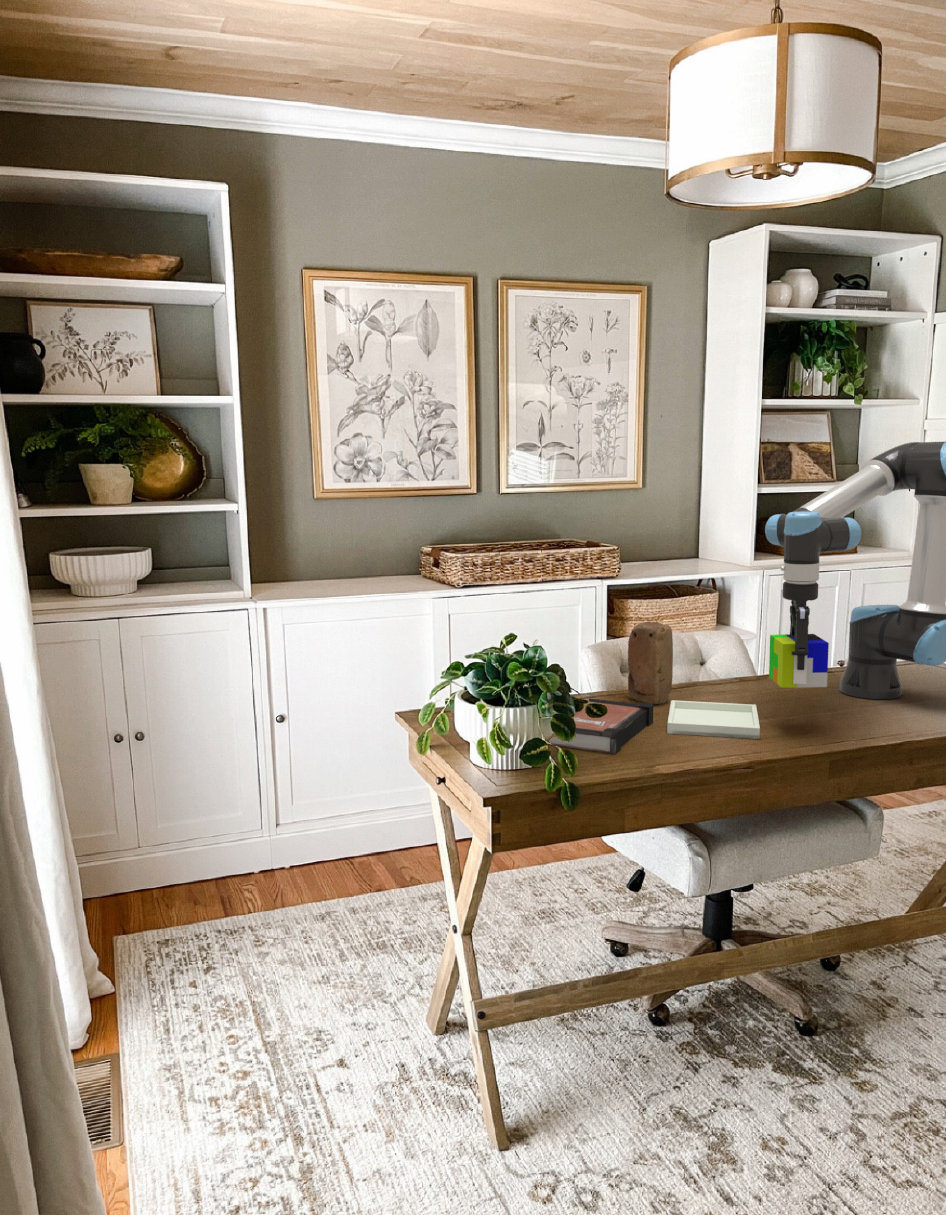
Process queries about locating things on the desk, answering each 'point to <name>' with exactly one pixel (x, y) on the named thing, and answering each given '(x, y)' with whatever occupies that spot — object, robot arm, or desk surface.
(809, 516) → the robot arm
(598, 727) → the book
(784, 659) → the puzzle toy
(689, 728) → the tray
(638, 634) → the block
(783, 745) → the desk surface
